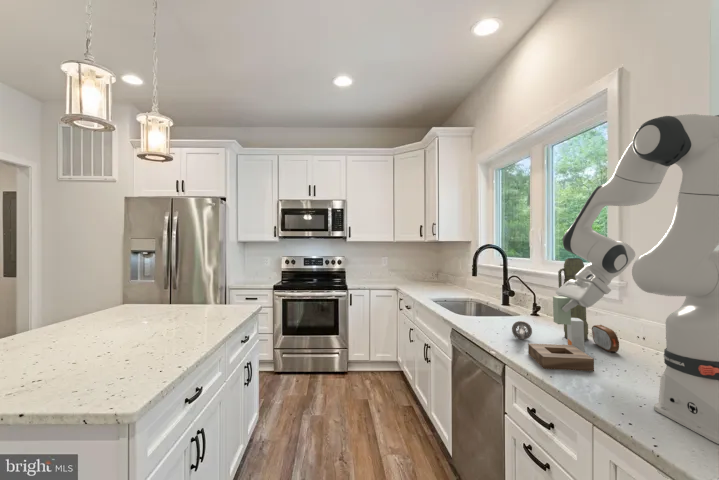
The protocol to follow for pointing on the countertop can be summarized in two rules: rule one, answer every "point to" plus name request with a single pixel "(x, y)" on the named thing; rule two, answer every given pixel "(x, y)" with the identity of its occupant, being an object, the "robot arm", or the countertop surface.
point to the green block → (558, 313)
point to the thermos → (570, 271)
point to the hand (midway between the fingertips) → (559, 309)
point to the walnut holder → (560, 357)
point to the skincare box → (576, 334)
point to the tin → (605, 338)
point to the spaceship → (522, 330)
